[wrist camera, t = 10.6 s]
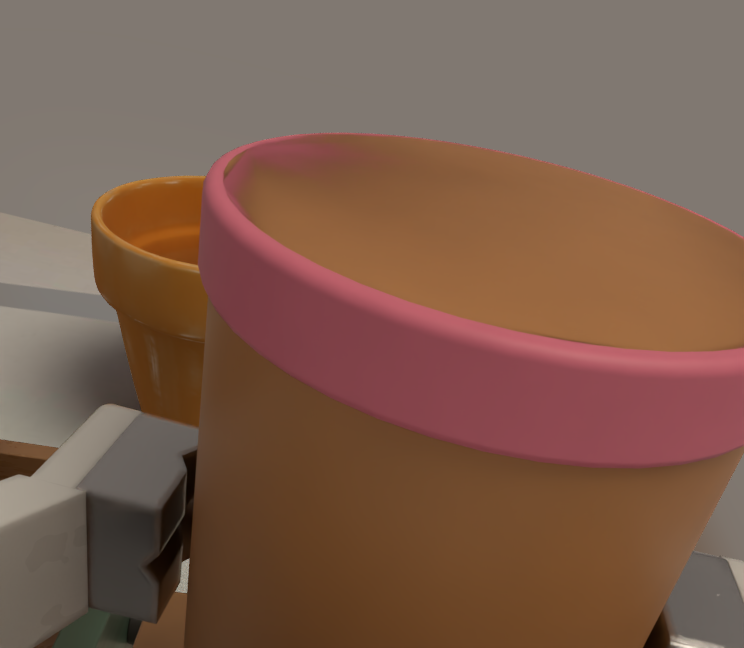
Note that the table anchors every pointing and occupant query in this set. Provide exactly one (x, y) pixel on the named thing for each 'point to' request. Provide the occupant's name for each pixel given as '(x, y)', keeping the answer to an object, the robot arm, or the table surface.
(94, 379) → the table surface
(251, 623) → the pink-rimmed cylinder
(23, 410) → the table surface
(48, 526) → the robot arm
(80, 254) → the table surface
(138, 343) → the flower pot
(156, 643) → the stand
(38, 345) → the table surface
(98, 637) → the drawer
